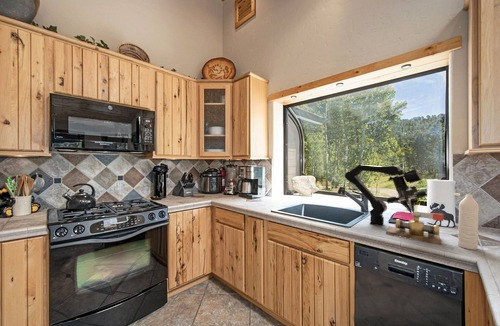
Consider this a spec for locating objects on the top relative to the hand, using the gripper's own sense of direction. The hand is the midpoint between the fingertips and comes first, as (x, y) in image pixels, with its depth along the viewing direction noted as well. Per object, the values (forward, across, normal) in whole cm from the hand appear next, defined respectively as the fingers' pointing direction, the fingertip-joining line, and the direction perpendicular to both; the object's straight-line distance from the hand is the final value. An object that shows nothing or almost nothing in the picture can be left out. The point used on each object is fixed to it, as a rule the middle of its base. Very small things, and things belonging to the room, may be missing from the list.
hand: (412, 212), depth 118 cm
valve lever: (+4, +4, -6) cm, 8 cm away
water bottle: (+19, +12, -8) cm, 24 cm away
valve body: (+11, -3, -2) cm, 12 cm away
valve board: (+12, -5, -1) cm, 13 cm away
